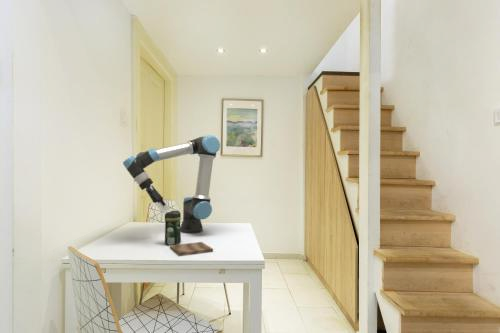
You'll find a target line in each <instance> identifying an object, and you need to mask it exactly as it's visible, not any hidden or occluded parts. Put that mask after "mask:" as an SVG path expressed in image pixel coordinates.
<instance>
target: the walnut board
mask: <svg viewBox="0 0 500 333" xmlns="http://www.w3.org/2000/svg"><path fill="white" fill-rule="evenodd" d="M169 249H171V250H172V251H173V252H174V253H175V254H176V255H177V256H178V257H182V256H191V255H199V254H205V253H212V252H214V248H213V247H211V246H210V245H207V244H206V243H204V242H203V241H198V242H197V241H196V242H189V243H178V244H176V245H169Z"/></svg>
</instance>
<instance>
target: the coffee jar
mask: <svg viewBox="0 0 500 333" xmlns="http://www.w3.org/2000/svg"><path fill="white" fill-rule="evenodd" d="M164 227H165V228H164V244H165V245H167V246H170V245H178V244H181V242H182V238H181V233H182V232H181V231H180V227H181V212H180V211H179V210H169V212H168V211H166V213H165V214H164Z"/></svg>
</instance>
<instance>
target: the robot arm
mask: <svg viewBox="0 0 500 333" xmlns="http://www.w3.org/2000/svg"><path fill="white" fill-rule="evenodd" d="M220 148H221V143H220V140H219V139H218V138H217V137H216V136H214V135H210V134H209V135H207V134H206V135H203V136H200V137H197V138H194V139H191V140H188V141H186V142H184V143H180V144H174V145H169V146H165V147H159V148H150V149H148V150H145V151H140V152H138V153H137V154H136V157H135V155H131V156H129V157H128V158H127V159H125V160H124V161H122V164H123V166H124V168H125V169H126V171H127V172H128V173H129V174H130V176H131V178H133V181H134V182H136V184H137V185H138V187H139V188H140V189H141V190H142V191H143V190H145V192H146V193H147V195H148V197H149V198H150V199H151V201H152V202H153V203H154V204H155V205H156V207H157V208H158V209H159V211H160V213H162V212H164V211H165V212H168V211H170V209H171V208H170V207H169V206H168V204H167V203H166V202H165V200H164V199H163V198H164V197H163V196H162V195H161V194H160V193H159V192H158V190H157V189H156V188H155V187H154V186H153V185H152V184H153V183H154V181H153V180H152V179H151V178H150V177H149V174H148V173H147V172H146V171H145V168H147V167H148V166H150V165H152V164H153V163H156V162H158V161H163V160H167V159H172V158H176V157H177V158H178V157H180V156H187V155H190V156H191V155H197V156H198V157H199V161H198V171H197V177H196V179H197V180H196V185H195V186H196V187H195V194H194V195H192V197H191V196H190V197H189V196H188V197H184V198H183V201H182V205H183V206H182V208H183V210H182V222H181V223H180V232H181V233H185V234H196V233H202V232H203V230H204V229H203V228H204V226H203V224H202V221H201V220H206V219H208V218H209V217H210V215H211V214H212V212H213V208H212V204H211V198H210V196H209V195H210V188H211V180H212V179H211V178H212V170H213V163H214V160H215V158H216V157H217V152H218V151H220ZM201 231H202V232H201Z"/></svg>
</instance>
